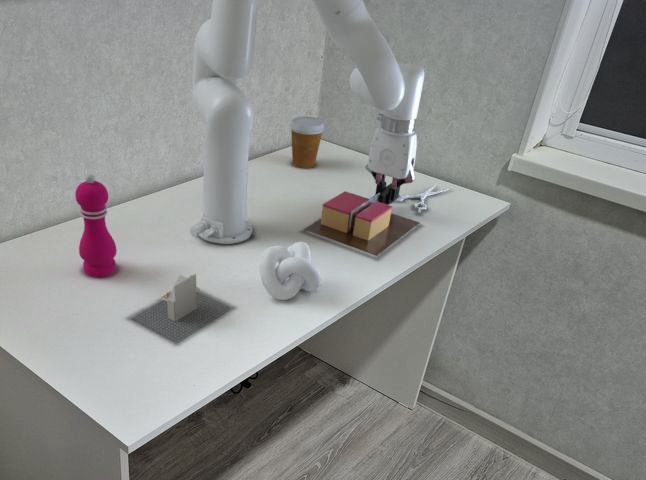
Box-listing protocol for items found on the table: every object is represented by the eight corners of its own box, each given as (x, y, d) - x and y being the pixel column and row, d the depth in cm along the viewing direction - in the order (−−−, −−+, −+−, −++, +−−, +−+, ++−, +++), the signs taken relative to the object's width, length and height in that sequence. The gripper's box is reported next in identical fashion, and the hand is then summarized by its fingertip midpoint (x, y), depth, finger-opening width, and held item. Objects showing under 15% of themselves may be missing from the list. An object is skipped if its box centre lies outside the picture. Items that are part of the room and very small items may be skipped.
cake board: (376, 259, 139) (377, 255, 139) (303, 232, 148) (303, 229, 147) (419, 225, 154) (420, 222, 153) (350, 203, 162) (351, 200, 162)
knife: (353, 229, 144) (356, 212, 142) (345, 226, 145) (347, 209, 143) (398, 197, 159) (401, 182, 156) (390, 195, 160) (392, 179, 157)
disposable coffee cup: (282, 159, 185) (285, 116, 177) (313, 157, 187) (317, 115, 180) (293, 171, 177) (297, 127, 170) (325, 169, 180) (330, 126, 173)
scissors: (384, 198, 164) (428, 178, 176) (384, 200, 164) (427, 181, 176) (419, 212, 158) (462, 191, 170) (418, 215, 159) (461, 193, 170)
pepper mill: (82, 280, 126) (70, 182, 114) (80, 262, 132) (68, 167, 120) (120, 277, 128) (111, 180, 116) (116, 259, 133) (107, 165, 121)
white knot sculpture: (276, 313, 120) (280, 271, 115) (245, 283, 128) (246, 242, 123) (326, 299, 125) (331, 258, 120) (292, 271, 133) (296, 231, 128)
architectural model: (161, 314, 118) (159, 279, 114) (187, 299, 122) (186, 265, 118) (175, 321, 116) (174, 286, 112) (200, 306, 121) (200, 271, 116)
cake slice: (368, 240, 144) (371, 220, 141) (352, 235, 146) (355, 214, 143) (388, 226, 151) (392, 206, 148) (373, 221, 153) (377, 201, 150)
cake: (346, 233, 147) (349, 212, 144) (320, 224, 150) (322, 203, 147) (367, 219, 153) (370, 199, 150) (342, 210, 157) (345, 191, 154)
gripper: (358, 119, 146) (348, 196, 157) (423, 136, 138) (408, 215, 149) (374, 112, 150) (363, 187, 162) (438, 128, 143) (422, 205, 154)
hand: (385, 200), depth 155 cm, fingers closed on knife, 2 cm apart
